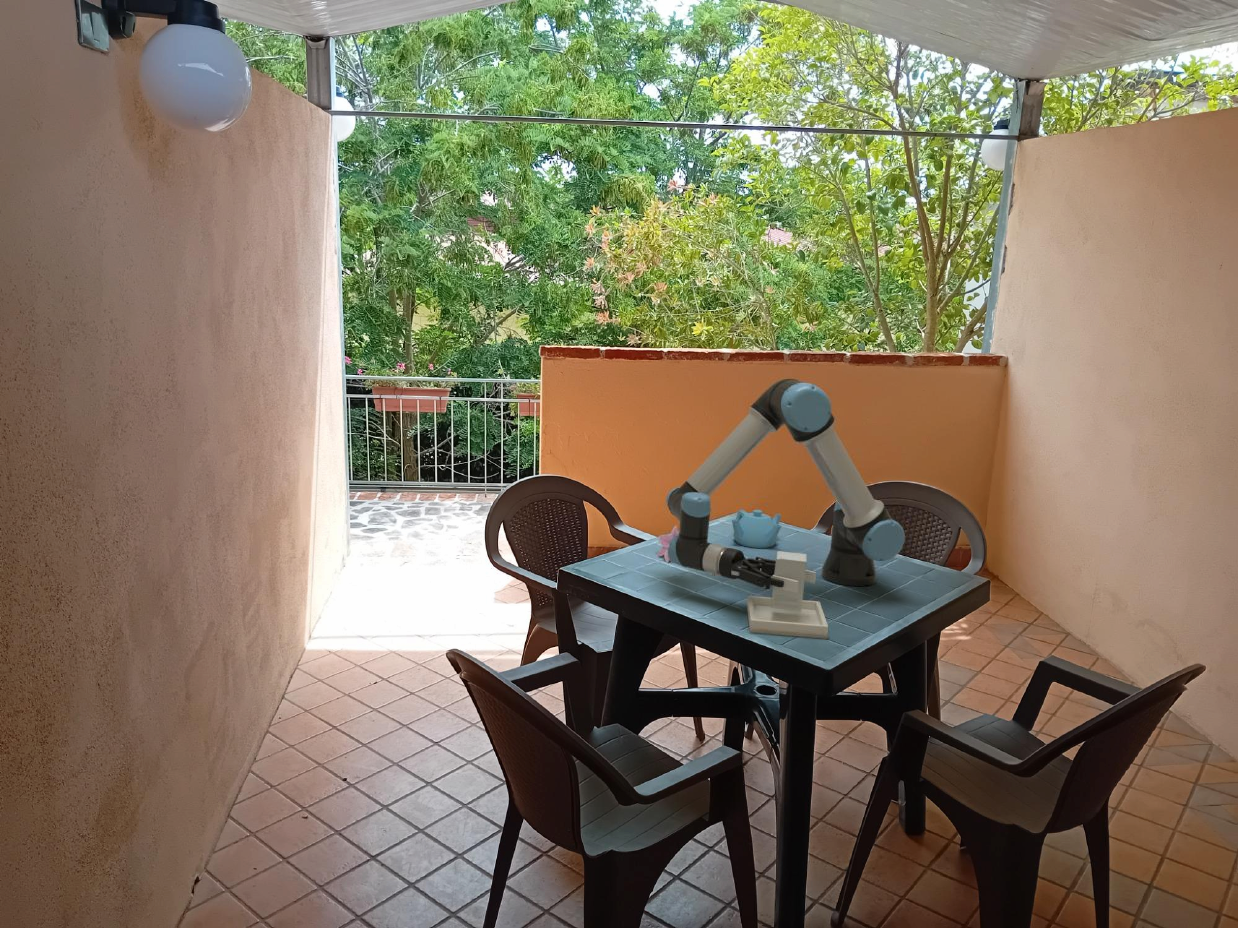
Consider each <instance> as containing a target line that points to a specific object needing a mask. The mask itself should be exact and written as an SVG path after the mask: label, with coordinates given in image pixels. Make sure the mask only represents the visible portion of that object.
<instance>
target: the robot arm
mask: <svg viewBox="0 0 1238 928" xmlns="http://www.w3.org/2000/svg"><path fill="white" fill-rule="evenodd" d="M748 410H749V411H748V412H749V413H748V414H747V415H746V416H745V418H743V420H742V421H741V422H740V423H739V424H738V425H737V426H736V427H735V428H734V429H733V430H732V431H731V433H730V434H728V436H727V437H726V438H725V439H724V440H723V441H722V442H721V443H720V444H719V445H718V446H717V448H716V449H715V450H714V451H713V452H712V453H711V454H710V455H709V456H708V457H707V458H706V459H705V460H704V462H702V464H701V465H700V466H699V467H698V468H697V469H696V470H695V471H694V472H693V473H692V474H691V475H690V476H689V477H688V478H687V480H685V482H684V483H682V485H681V486H677V487H675V488H673V489H671V490H670V491H669V492H668V493H667V495H666V500H665V501H666V502H665V503H666V507H667V508H668V510H669V511H670V514H671V515H672V516H674V517H676V519H677V520H678V521H679V530H678V531H679V536H675V537H673V538H672V540H671V541H670V545H669V547H668V557H669V559H670V560H669V561H670V562H672V563H673V564H676V565H678V566H681V567H683V568H688V569H693V570H696V571H701V572H704V573H708V574H711V575H712V576H713V577H715V576H721V577H723V578H727V579H729V580H730V579H731V580H736V579H737V580H740V581H743V582H746V583H747V584H751V585H754V586H756V587H760V588H761V589H763V588H765V590H771V587H772V588H773V587H776V588H779V589H783V590H787V591H791V592H795V593H797V591H798V582H799V581H796V580H792V579H788V578H784V577H780V576H776V575H774V572H775V564H776V559H775V560H774V559H769V558H762V557H760V556H755V558H751V557H749V558H746V557H745V554H744V552H743V551H742V550H740V549H736V548H733V547H727V546H724V545H720V544H715V543H712V542H708V539H709V538H708V537H709V528H710V520H711V519H710V517H711V510H712V507H711V501H712V500H711V497H710V496H711V495H712V494H713V493H714V492H715V491H716V490H717V489H718V488H719V487H720V486H721V485H722V484H723V483H724V482H725V481H726V479H727V478H729V476H730V475H731V474H732V473H734V471H735V470H736V469H737V468H738V467H739V466H740V465H741V464H742V462H743V461H745V460H746V458H747V457H748V456H749V455H750V454H751V453H752V452H753V451H754V450H755V449H756V448H757V447H758V446H759V444H760V443H762V441H764V439H766V437H767V436H768V435H769V434H771V433H776V432H777V431H778V430H779V429H780V428H781V427H782V426H783V425H784V426H785V427H786V428H787V430H788V432H789V434H790V435H791V437H792V439H793V440H794V441H795V443H798V444H802V445H803V446H804V447H805V449H806V451H807V452H808V454H809V456H810V458H811V459H812V460H813V463H814V464H815V466H816V468H817V469H818V471H819V473H820V475H821V476H822V478H823V480H824V481H825V483H826V484H827V487H828V488H829V490H830V492H831V494H832V495H833V497H834V499H835V500H836V502H835V504H834V508H833V520H832V529H831V530H832V531H831V540H830V549H829V552H828V554H827V556H826V558H825V560H824V563H823V565H822V568H821V577H822V578H823V579H824V580H826V581H829V582H832V583H835V584H839V585H843V586H848V587H849V586H850V587H851V586H852V587H866V586H865V585H868V586H872V585H874V584H876V582H877V571H876V566H875V562H887V561H889V560H892V559H893V558H895V557H896V556H897V555H899V554H900V552H901V550H903V545H904V543H905V540H906V535H905V531H904V528H903V526H902V525H901V524H900V523H899V522H898V521H896V520H894V519H893V518H892V516H891V515H890V513H889V511H888V510H887V508H886V506H885V504H884V503H883V502H882V501H881V500H879V499H878V500H877V499H875V498H874V497H873V495H872V493H871V492H870V490H869V488H868V486H867V485H866V483H865V481H864V480H863V477H862V476H861V474H860V472H859V471H858V468H857V467H856V465H855V464H854V462H853V461H852V459H851V457H850V455H849V452H848V451H847V449H846V448H845V447H844V445H843V443H842V441H841V439H840V437H839V435H838V434H837V432H836V430H835V428H834V426H835V422H836V418H835V417H834V415H833V413H832V404H831V400H830V399H829V396H828V394H827V393H826V392H825V391H824V390H823V389H821V387H818V386H817V385H815V384H813V383H809V382H804V381H800V380H798V379H796V378H784V379H780V380H777V381H776V382H774V383H773V384H771V385H770V386H769V387H768V388H767V389H765V391H764V392H763V393H762V394H761V395H760V396H759V397H758V398H757V399H756V400H755V401H754V402H753V404H751V405H750V407H749V408H748ZM816 574H817V571H813V570H809V569H806V573H805V582H807V583H810V584H816V577H817V575H816ZM871 584H872V585H871Z"/></svg>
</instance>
